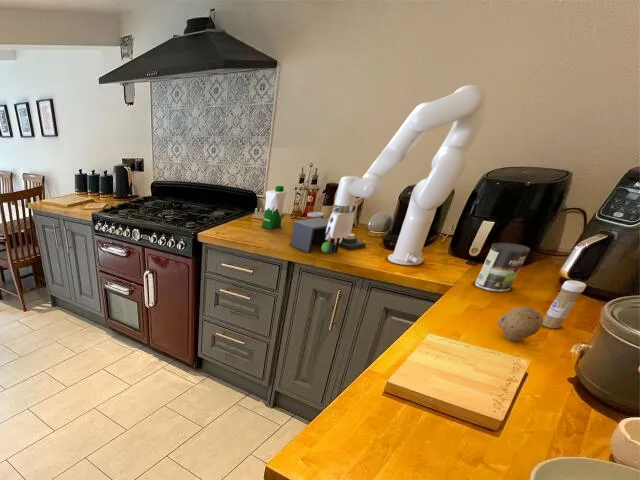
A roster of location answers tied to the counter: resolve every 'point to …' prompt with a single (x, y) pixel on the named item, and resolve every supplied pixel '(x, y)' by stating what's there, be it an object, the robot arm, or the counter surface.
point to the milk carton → (274, 207)
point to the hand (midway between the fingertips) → (332, 252)
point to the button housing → (351, 243)
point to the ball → (326, 247)
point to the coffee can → (501, 266)
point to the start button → (350, 236)
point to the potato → (520, 323)
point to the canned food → (315, 215)
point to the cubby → (309, 233)
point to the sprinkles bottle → (563, 303)
